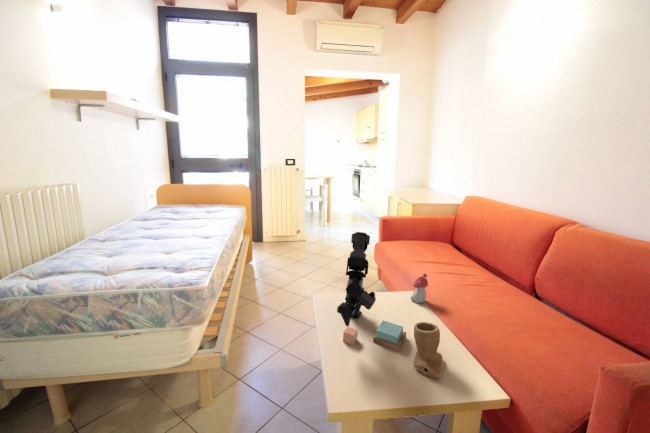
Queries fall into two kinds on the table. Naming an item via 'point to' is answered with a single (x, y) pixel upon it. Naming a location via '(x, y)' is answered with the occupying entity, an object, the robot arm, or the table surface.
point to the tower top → (389, 332)
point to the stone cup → (427, 349)
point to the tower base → (390, 344)
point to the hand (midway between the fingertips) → (351, 320)
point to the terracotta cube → (350, 335)
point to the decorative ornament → (420, 289)
